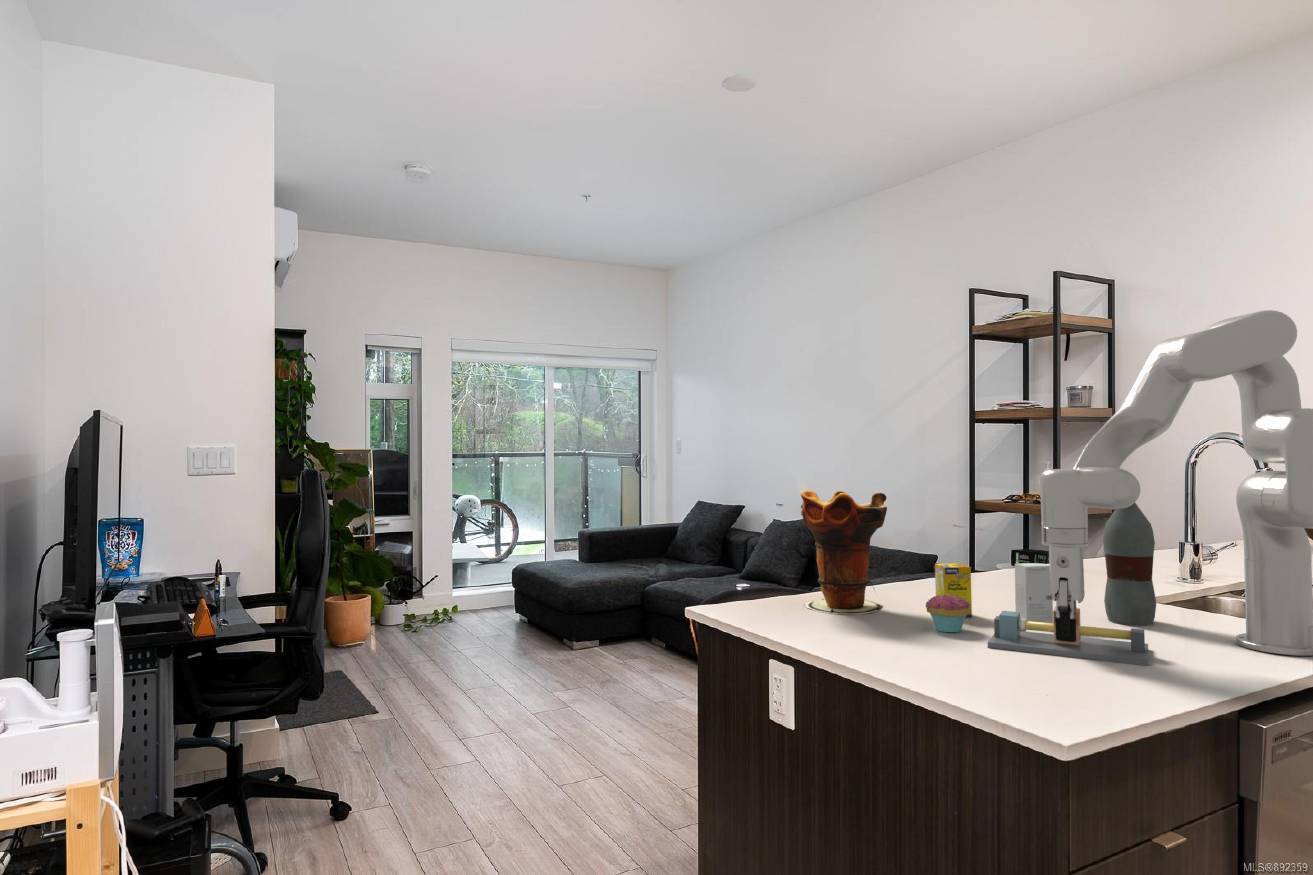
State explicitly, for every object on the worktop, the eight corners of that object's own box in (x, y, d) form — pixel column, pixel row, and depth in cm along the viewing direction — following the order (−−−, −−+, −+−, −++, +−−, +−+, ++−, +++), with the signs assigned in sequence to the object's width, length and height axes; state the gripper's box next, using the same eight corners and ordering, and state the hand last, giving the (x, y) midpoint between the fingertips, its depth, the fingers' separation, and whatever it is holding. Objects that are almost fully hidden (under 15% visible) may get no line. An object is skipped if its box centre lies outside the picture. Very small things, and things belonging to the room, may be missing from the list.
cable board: (1148, 649, 141) (1147, 619, 141) (1148, 665, 131) (1147, 633, 131) (998, 633, 154) (997, 606, 154) (987, 647, 144) (987, 618, 144)
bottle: (1142, 616, 167) (1139, 475, 167) (1166, 626, 158) (1162, 477, 158) (1096, 616, 168) (1093, 476, 168) (1117, 626, 159) (1114, 478, 159)
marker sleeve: (1080, 639, 143) (1080, 608, 143) (1079, 644, 139) (1078, 613, 139) (1056, 636, 145) (1055, 606, 145) (1053, 642, 141) (1053, 611, 141)
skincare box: (1027, 625, 161) (1025, 566, 161) (1014, 620, 165) (1013, 563, 165) (1054, 624, 161) (1053, 565, 162) (1041, 619, 166) (1040, 562, 166)
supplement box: (972, 617, 169) (971, 566, 169) (944, 618, 169) (943, 567, 169) (962, 612, 175) (961, 562, 175) (935, 612, 175) (934, 563, 175)
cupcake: (923, 632, 156) (922, 572, 156) (929, 623, 164) (928, 566, 164) (969, 636, 152) (968, 574, 152) (974, 627, 160) (972, 568, 160)
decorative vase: (903, 599, 188) (898, 482, 187) (875, 623, 168) (869, 493, 167) (820, 592, 199) (815, 482, 198) (784, 614, 179) (779, 492, 178)
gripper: (1085, 543, 133) (1088, 650, 133) (1090, 533, 148) (1093, 630, 148) (1036, 541, 137) (1039, 645, 137) (1046, 531, 152) (1048, 626, 151)
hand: (1067, 636), depth 142 cm, fingers closed on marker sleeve, 4 cm apart
